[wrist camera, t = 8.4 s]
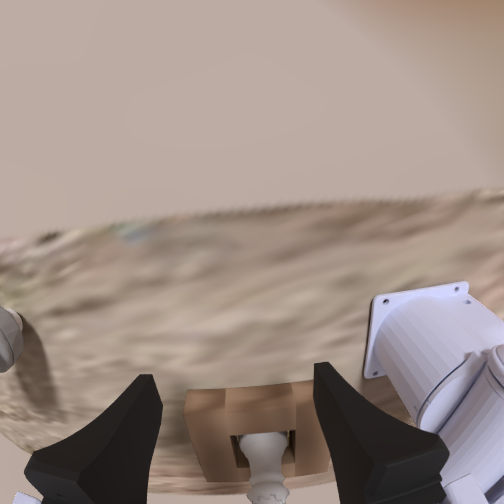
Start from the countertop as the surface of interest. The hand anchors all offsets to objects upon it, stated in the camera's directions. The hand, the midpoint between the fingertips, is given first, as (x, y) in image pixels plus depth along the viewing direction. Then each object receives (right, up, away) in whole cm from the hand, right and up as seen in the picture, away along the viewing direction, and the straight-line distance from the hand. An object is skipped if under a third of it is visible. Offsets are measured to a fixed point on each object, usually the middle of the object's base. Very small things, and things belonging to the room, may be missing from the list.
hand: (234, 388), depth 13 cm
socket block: (+2, -10, +13) cm, 17 cm away
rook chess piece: (+2, -10, +12) cm, 16 cm away
